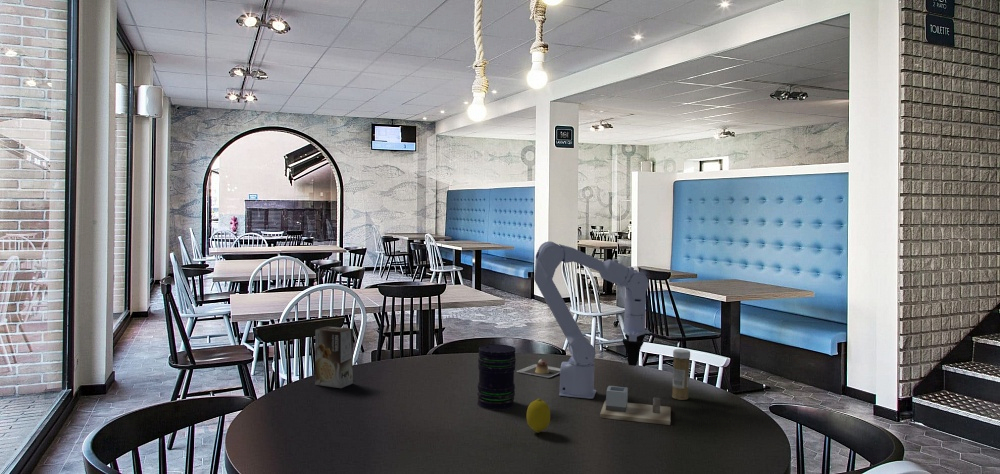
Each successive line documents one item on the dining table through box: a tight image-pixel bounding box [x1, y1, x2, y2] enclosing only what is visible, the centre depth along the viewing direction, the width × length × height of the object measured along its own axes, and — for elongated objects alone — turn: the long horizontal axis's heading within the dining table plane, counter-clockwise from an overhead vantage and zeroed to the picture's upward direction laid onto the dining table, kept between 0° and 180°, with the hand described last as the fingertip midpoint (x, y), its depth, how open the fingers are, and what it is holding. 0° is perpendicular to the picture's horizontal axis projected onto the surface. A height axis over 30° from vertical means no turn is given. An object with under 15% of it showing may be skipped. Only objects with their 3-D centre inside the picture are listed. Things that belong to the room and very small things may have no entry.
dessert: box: [516, 358, 561, 379], centre depth 208 cm, size 12×12×5 cm
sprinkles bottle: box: [671, 348, 691, 401], centre depth 182 cm, size 5×5×13 cm
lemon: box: [526, 398, 551, 434], centre depth 151 cm, size 6×6×8 cm
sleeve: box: [605, 385, 629, 412], centre depth 168 cm, size 5×5×5 cm
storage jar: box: [477, 343, 517, 411], centre depth 172 cm, size 10×10×15 cm
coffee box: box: [314, 325, 354, 389], centre depth 187 cm, size 9×6×16 cm
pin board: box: [599, 397, 672, 426], centre depth 167 cm, size 17×12×4 cm
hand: (633, 362), depth 183 cm, fingers open, 7 cm apart
